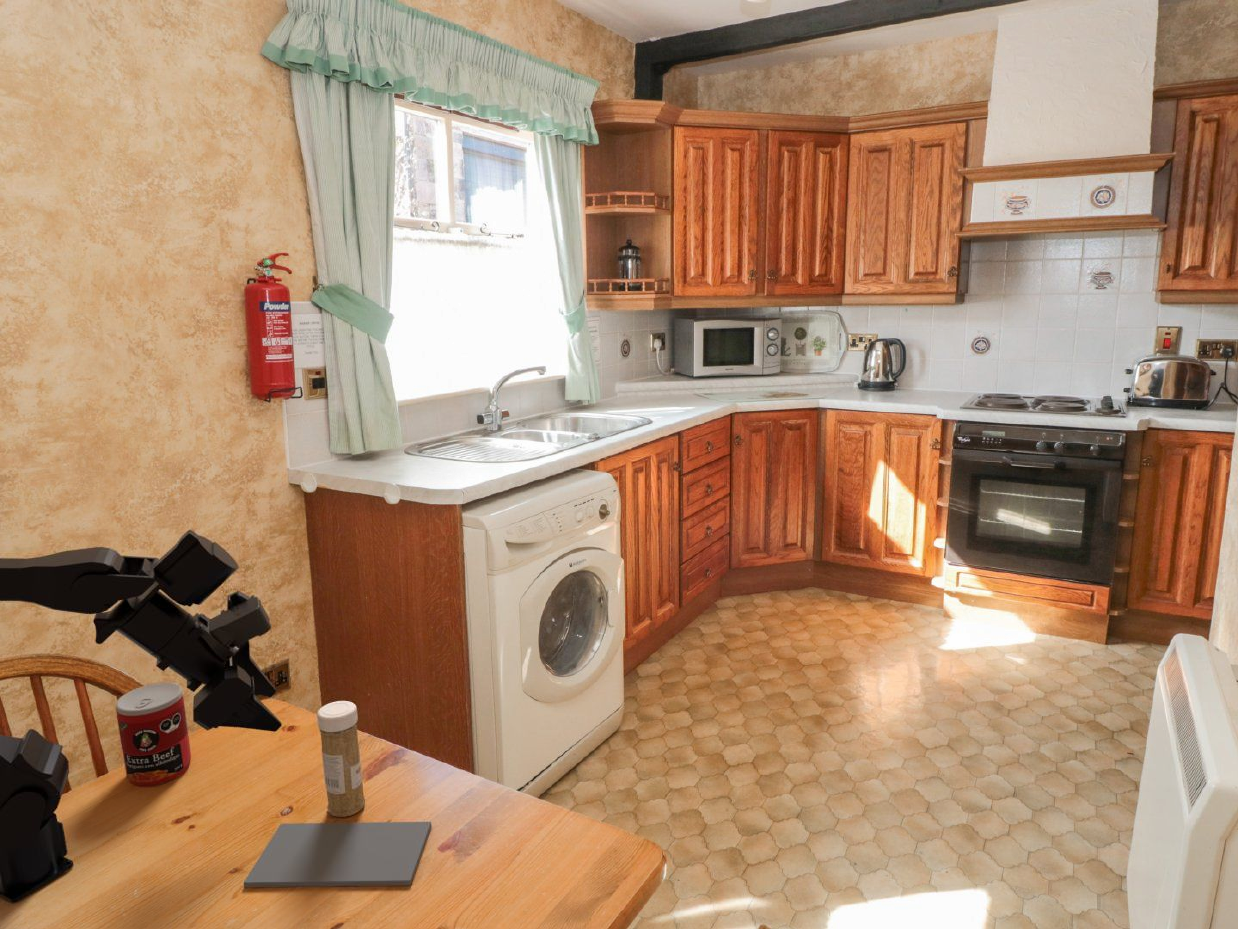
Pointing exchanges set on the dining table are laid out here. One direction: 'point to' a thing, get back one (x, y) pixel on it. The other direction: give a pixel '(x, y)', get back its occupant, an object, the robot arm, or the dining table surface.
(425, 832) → the charcoal mat
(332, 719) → the spice jar
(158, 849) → the dining table surface
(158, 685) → the canned food
